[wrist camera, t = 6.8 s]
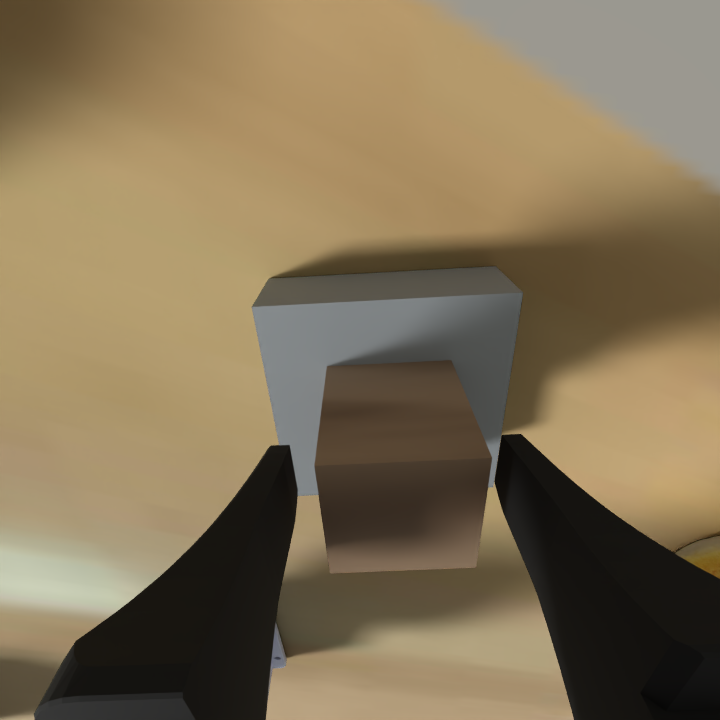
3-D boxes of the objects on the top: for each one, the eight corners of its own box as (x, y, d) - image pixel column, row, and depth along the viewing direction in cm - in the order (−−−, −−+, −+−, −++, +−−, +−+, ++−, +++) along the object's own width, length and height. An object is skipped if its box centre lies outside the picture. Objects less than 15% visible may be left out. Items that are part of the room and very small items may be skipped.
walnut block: (444, 454, 17) (476, 567, 12) (336, 459, 17) (329, 573, 12) (451, 360, 14) (492, 458, 10) (326, 366, 15) (314, 465, 10)
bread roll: (600, 589, 27) (636, 656, 24) (721, 512, 23) (785, 578, 20) (677, 623, 29) (720, 690, 26) (798, 558, 26) (868, 625, 22)
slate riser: (475, 441, 20) (493, 487, 18) (297, 449, 20) (289, 496, 18) (495, 266, 16) (523, 292, 13) (268, 278, 16) (251, 306, 13)
